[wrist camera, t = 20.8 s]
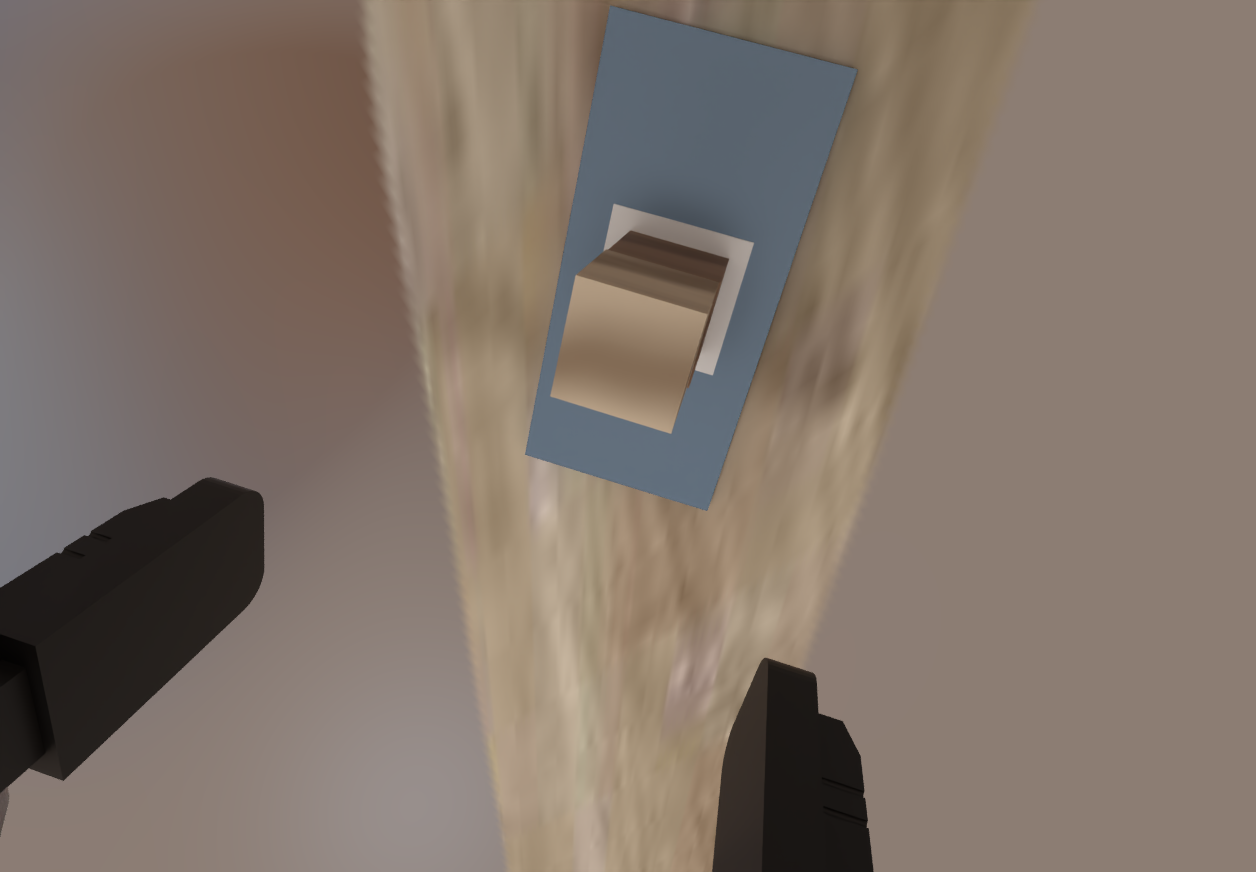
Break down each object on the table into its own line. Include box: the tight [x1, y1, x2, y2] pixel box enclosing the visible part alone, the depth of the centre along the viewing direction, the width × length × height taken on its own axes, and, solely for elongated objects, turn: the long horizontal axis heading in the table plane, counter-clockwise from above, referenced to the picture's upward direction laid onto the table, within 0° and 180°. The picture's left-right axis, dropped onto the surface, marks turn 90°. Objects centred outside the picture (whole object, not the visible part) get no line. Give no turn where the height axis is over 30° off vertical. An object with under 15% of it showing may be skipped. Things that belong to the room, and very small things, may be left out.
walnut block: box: [608, 230, 729, 388], centre depth 34 cm, size 5×5×5 cm
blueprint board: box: [525, 6, 858, 511], centre depth 36 cm, size 23×11×1 cm, turn 167°
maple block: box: [550, 249, 719, 434], centre depth 29 cm, size 5×5×5 cm
